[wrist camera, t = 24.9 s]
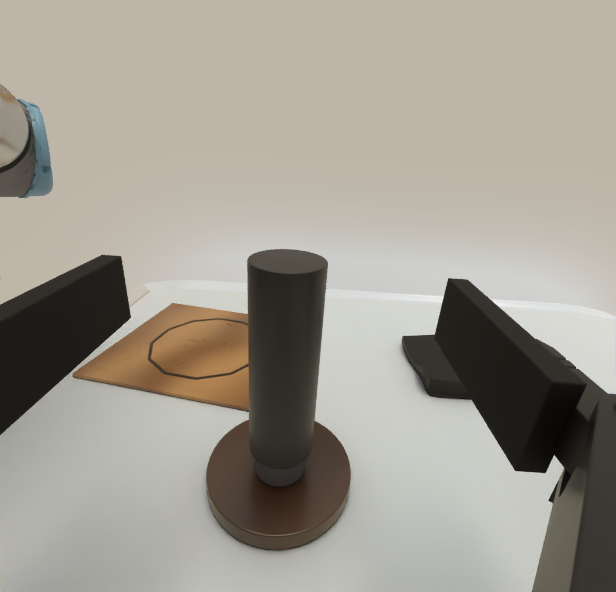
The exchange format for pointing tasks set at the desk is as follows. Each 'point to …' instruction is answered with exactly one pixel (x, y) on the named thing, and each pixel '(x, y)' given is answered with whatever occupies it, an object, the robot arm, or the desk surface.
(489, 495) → the desk surface
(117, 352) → the paper sheet
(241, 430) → the coaster
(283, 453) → the dot marker
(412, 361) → the curved wedge
